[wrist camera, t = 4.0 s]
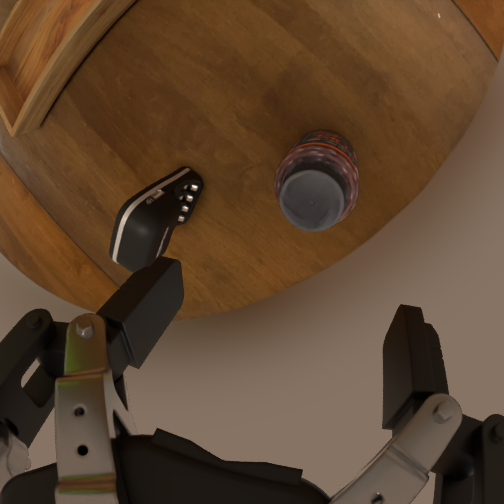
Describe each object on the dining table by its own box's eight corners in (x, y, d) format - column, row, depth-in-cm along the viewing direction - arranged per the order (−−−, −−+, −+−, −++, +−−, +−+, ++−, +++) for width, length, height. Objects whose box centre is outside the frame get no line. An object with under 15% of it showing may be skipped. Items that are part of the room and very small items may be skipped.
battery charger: (191, 229, 35) (137, 287, 26) (164, 212, 35) (104, 264, 26) (214, 180, 31) (155, 228, 22) (184, 162, 31) (117, 203, 22)
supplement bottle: (364, 139, 25) (376, 173, 16) (345, 197, 28) (344, 259, 19) (300, 120, 26) (274, 142, 17) (286, 179, 29) (255, 231, 20)
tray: (132, -93, 14) (103, -106, 10) (191, -44, 19) (162, -61, 14) (9, 64, 29) (-19, 71, 25) (42, 128, 34) (12, 138, 29)
